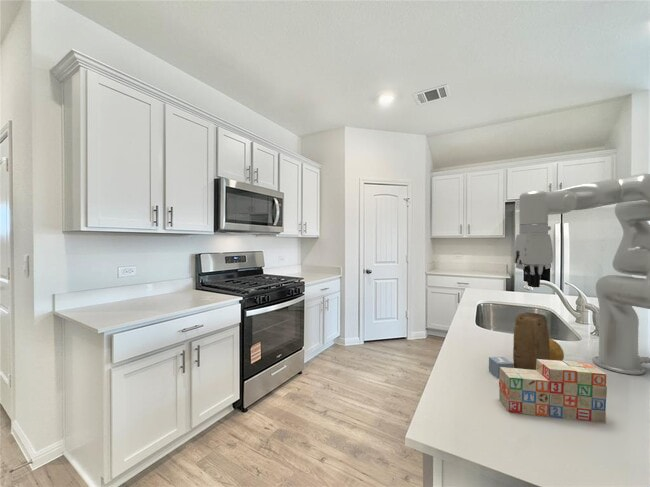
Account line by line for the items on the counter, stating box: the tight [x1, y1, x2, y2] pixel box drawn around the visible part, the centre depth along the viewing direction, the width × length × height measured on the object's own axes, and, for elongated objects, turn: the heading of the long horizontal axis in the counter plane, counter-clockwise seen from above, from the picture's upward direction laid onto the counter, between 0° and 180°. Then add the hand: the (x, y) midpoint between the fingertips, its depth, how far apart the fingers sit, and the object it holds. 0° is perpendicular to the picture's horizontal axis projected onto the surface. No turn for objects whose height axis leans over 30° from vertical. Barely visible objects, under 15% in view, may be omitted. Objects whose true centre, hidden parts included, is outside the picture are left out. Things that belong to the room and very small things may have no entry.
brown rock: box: [512, 311, 550, 370], centre depth 93 cm, size 11×8×20 cm
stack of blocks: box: [498, 359, 608, 424], centre depth 74 cm, size 21×6×12 cm, turn 78°
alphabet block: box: [488, 356, 514, 380], centre depth 94 cm, size 5×5×5 cm
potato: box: [549, 337, 565, 361], centre depth 104 cm, size 10×13×9 cm
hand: (533, 286), depth 93 cm, fingers closed
